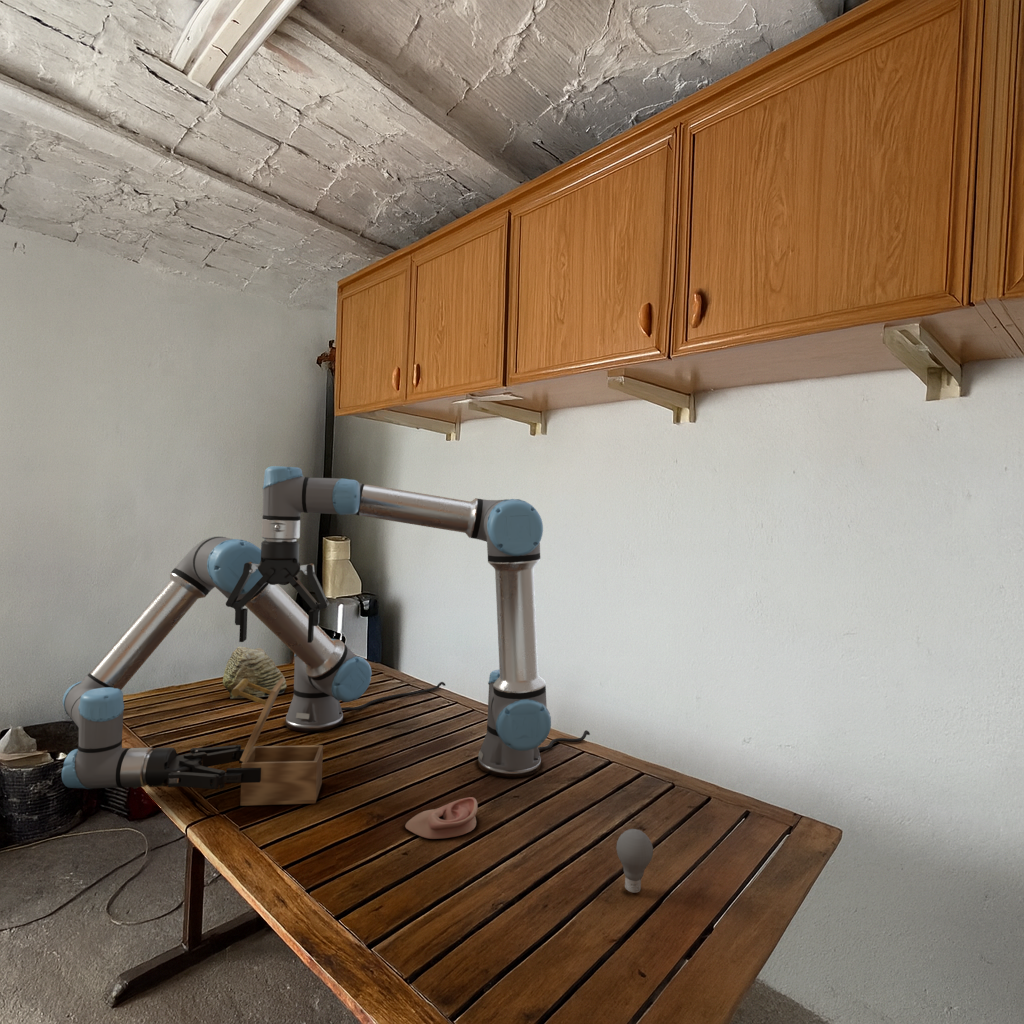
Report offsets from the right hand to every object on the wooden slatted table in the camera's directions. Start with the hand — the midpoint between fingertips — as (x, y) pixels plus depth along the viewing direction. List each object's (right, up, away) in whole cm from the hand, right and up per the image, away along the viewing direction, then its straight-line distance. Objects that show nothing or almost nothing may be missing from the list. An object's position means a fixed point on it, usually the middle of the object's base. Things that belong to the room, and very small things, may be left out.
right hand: (276, 641), depth 133 cm
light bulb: (+70, -36, -27) cm, 83 cm away
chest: (+1, -33, +1) cm, 33 cm away
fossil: (-31, -30, +65) cm, 78 cm away
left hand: (-2, -26, 0) cm, 26 cm away
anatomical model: (+36, -34, -9) cm, 50 cm away
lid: (-3, -16, 0) cm, 17 cm away
